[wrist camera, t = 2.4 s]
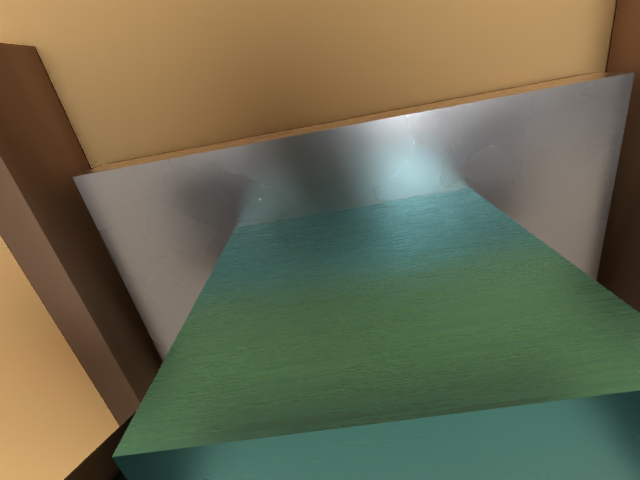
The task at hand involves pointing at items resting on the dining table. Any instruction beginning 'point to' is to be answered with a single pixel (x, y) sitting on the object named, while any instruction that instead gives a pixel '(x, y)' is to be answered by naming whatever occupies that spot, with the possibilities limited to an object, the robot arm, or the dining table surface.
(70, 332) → the walnut channel
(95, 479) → the robot arm
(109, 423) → the dining table surface
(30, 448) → the dining table surface
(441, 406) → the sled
